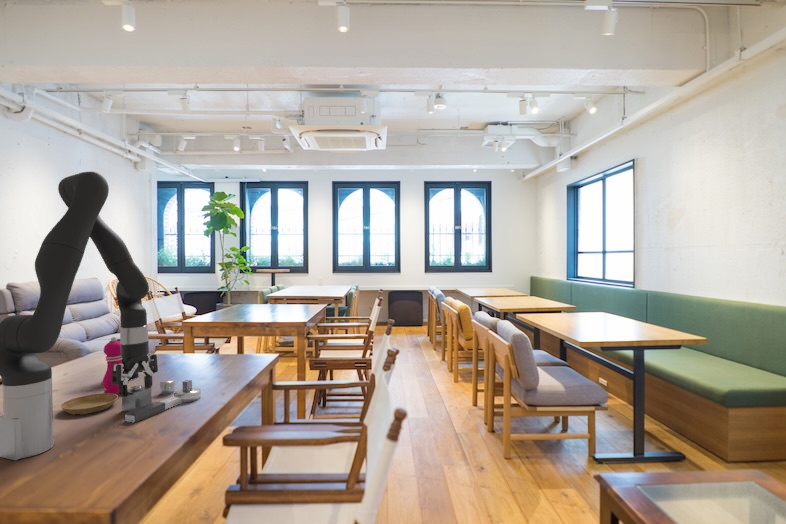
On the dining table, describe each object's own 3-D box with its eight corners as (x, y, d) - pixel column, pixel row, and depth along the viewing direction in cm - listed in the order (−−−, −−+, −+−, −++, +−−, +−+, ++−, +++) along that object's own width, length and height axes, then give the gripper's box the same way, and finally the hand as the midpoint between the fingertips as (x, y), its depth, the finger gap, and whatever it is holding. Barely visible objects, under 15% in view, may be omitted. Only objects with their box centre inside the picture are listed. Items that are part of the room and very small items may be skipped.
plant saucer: (129, 402, 139) (129, 394, 139) (86, 419, 125) (85, 410, 125) (94, 399, 143) (94, 391, 143) (48, 415, 129) (48, 406, 129)
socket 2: (167, 395, 146) (166, 383, 146) (157, 394, 147) (157, 382, 147) (177, 391, 150) (177, 380, 150) (168, 390, 151) (167, 379, 151)
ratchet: (139, 424, 120) (139, 402, 120) (119, 420, 123) (118, 400, 123) (206, 396, 144) (205, 378, 144) (187, 394, 147) (187, 376, 147)
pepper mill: (115, 398, 143) (113, 339, 143) (97, 397, 144) (95, 338, 144) (132, 391, 150) (131, 335, 150) (115, 390, 152) (113, 334, 151)
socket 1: (135, 412, 129) (135, 390, 129) (122, 410, 131) (121, 388, 131) (151, 406, 135) (151, 385, 135) (138, 404, 137) (138, 383, 136)
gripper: (145, 335, 141) (146, 384, 141) (103, 344, 127) (105, 398, 128) (162, 336, 139) (164, 386, 139) (122, 346, 125) (124, 401, 126)
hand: (136, 392), depth 134 cm, fingers open, 8 cm apart
